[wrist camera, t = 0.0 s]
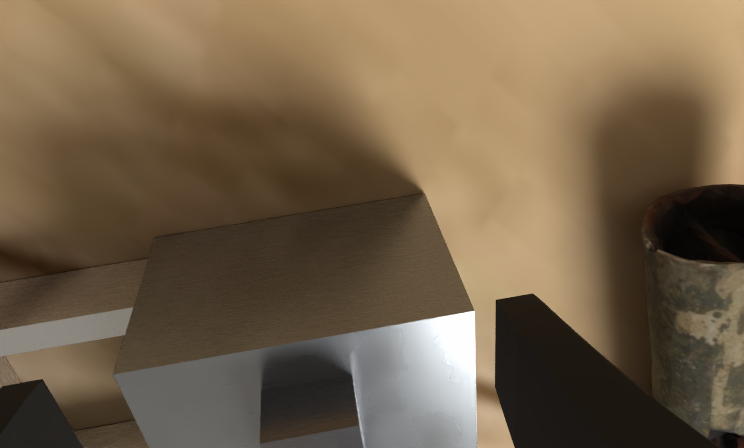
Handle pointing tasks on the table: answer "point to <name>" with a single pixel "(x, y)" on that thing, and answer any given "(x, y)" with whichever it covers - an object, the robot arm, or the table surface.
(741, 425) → the olive hollow tube
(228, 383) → the silver box with frame
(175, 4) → the table surface
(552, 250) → the table surface
